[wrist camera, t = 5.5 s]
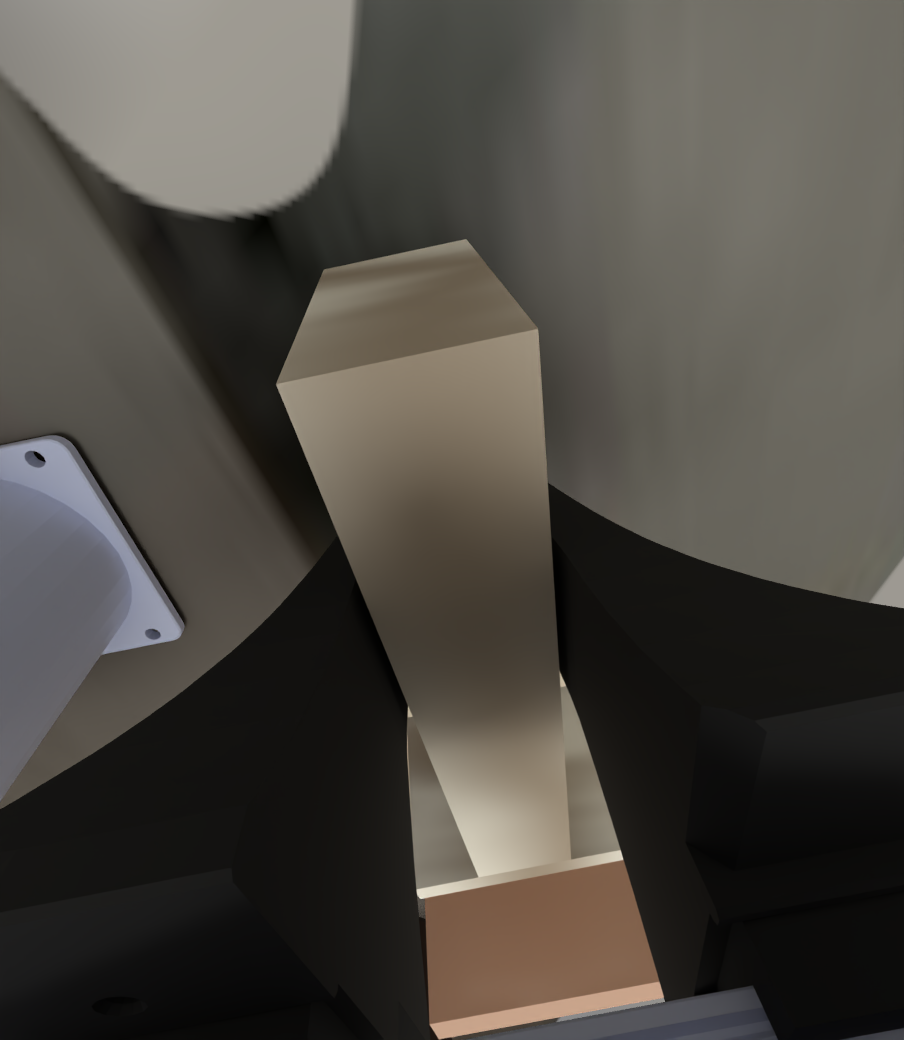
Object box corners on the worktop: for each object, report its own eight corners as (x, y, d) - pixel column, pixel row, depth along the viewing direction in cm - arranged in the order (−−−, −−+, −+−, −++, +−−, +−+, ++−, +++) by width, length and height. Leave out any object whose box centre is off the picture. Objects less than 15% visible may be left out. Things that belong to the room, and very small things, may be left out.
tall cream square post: (411, 729, 18) (420, 898, 14) (224, 290, 9) (95, 422, 5) (577, 696, 18) (634, 857, 14) (566, 217, 9) (724, 288, 5)
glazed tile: (426, 763, 23) (439, 1041, 15) (419, 742, 22) (429, 1024, 14) (578, 733, 23) (670, 998, 15) (576, 711, 22) (673, 979, 14)
